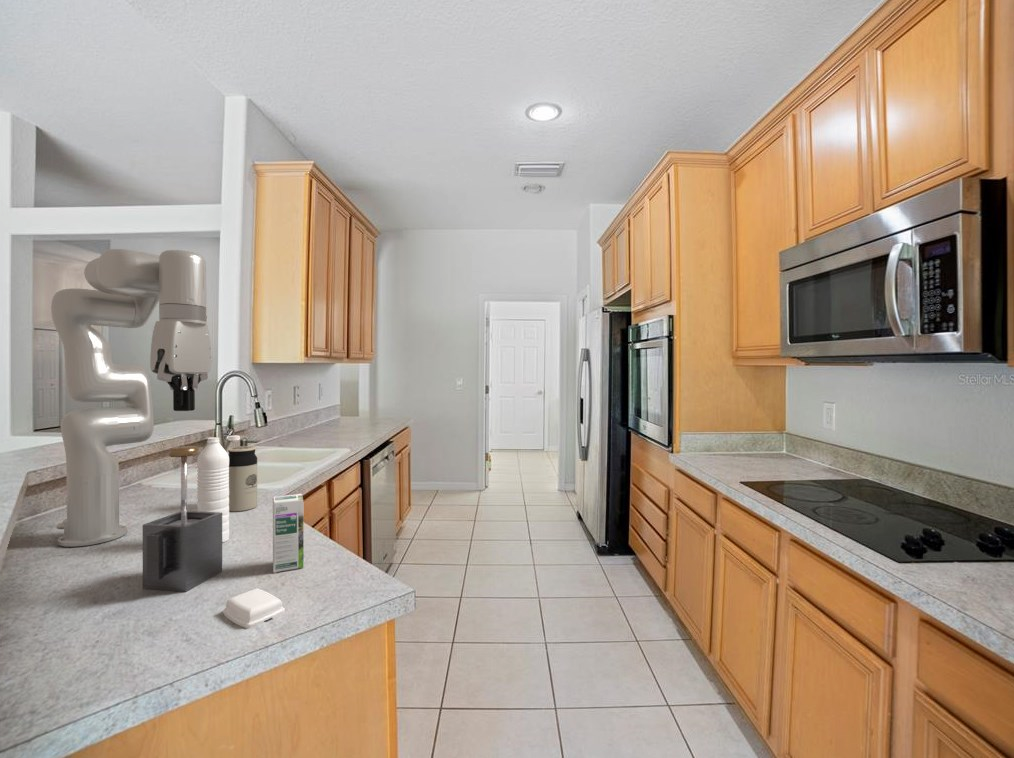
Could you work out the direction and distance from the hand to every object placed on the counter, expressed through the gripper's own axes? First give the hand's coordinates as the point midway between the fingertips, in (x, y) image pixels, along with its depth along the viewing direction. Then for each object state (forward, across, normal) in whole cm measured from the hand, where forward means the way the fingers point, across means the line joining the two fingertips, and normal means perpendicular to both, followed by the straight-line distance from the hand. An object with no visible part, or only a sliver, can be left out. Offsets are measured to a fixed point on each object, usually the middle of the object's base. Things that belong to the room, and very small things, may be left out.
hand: (184, 410), depth 90 cm
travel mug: (+33, -45, -22) cm, 60 cm away
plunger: (+23, 0, 0) cm, 23 cm away
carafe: (+33, +1, 0) cm, 33 cm away
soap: (+34, +9, +21) cm, 41 cm away
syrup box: (+33, -9, +16) cm, 38 cm away
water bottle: (+33, -20, -9) cm, 40 cm away
